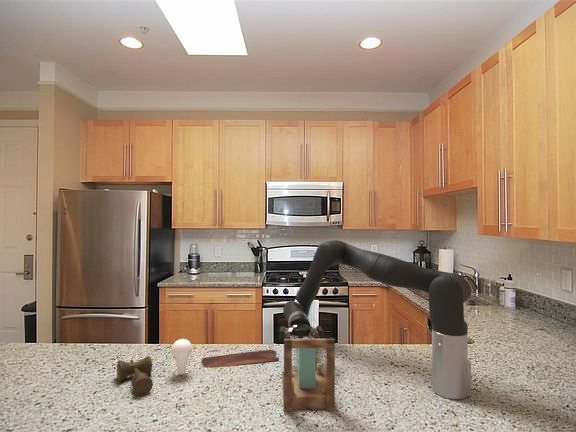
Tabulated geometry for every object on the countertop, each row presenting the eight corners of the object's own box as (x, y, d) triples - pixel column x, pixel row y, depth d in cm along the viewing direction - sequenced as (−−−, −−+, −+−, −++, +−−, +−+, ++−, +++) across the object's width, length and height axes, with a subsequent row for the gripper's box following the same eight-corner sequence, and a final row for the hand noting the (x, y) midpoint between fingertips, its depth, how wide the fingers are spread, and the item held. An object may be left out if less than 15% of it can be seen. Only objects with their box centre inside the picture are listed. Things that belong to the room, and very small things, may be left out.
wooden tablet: (201, 366, 111) (201, 351, 120) (201, 372, 111) (201, 357, 121) (280, 359, 117) (274, 345, 127) (280, 365, 117) (274, 351, 127)
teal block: (313, 377, 98) (313, 339, 98) (315, 388, 92) (315, 347, 92) (297, 378, 98) (298, 339, 98) (299, 388, 92) (299, 347, 92)
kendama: (124, 402, 91) (114, 372, 108) (161, 393, 97) (146, 366, 113) (125, 380, 91) (115, 353, 108) (162, 372, 97) (147, 348, 113)
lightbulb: (185, 368, 111) (186, 334, 111) (195, 374, 107) (195, 339, 107) (167, 374, 107) (168, 339, 107) (177, 381, 102) (177, 344, 103)
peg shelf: (325, 380, 103) (325, 321, 103) (334, 410, 87) (334, 340, 87) (282, 381, 102) (282, 321, 103) (283, 411, 86) (284, 340, 86)
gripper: (279, 313, 122) (280, 328, 106) (318, 313, 123) (325, 327, 107) (279, 334, 122) (280, 352, 106) (318, 334, 123) (325, 351, 107)
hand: (302, 340), depth 106 cm, fingers open, 8 cm apart
